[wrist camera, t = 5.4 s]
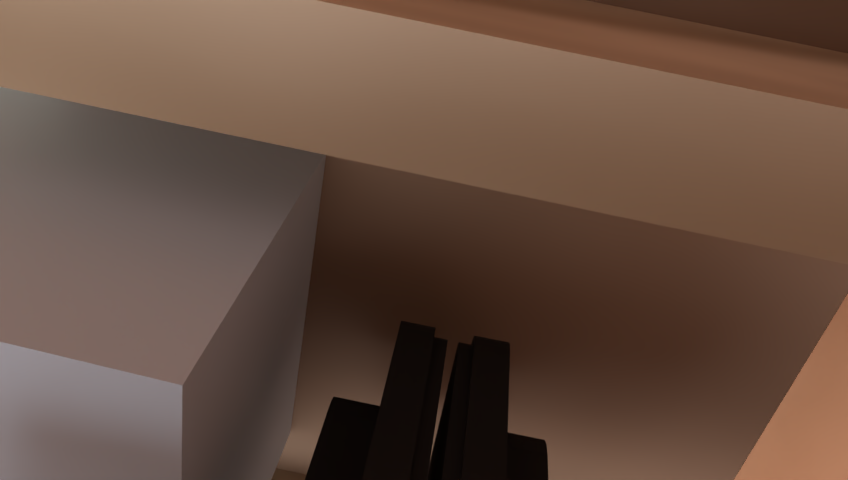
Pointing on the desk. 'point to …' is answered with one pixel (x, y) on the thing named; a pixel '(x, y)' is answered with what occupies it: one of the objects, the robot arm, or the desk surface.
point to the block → (147, 294)
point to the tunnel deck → (567, 312)
